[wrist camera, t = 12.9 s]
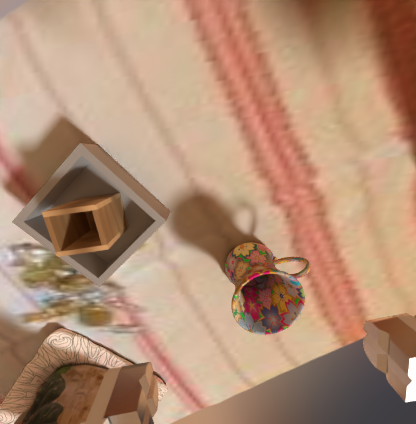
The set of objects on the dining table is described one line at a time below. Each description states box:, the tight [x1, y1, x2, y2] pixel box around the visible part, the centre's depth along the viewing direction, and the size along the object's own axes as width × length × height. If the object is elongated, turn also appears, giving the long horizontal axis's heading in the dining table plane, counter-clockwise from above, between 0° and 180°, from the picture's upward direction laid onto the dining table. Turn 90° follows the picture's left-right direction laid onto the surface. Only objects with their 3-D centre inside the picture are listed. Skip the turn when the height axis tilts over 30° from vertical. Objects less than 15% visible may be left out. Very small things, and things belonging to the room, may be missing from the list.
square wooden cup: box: [42, 192, 128, 257], centre depth 29 cm, size 6×6×8 cm
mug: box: [225, 242, 311, 335], centre depth 32 cm, size 12×9×11 cm
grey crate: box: [12, 143, 170, 287], centre depth 31 cm, size 14×14×5 cm
